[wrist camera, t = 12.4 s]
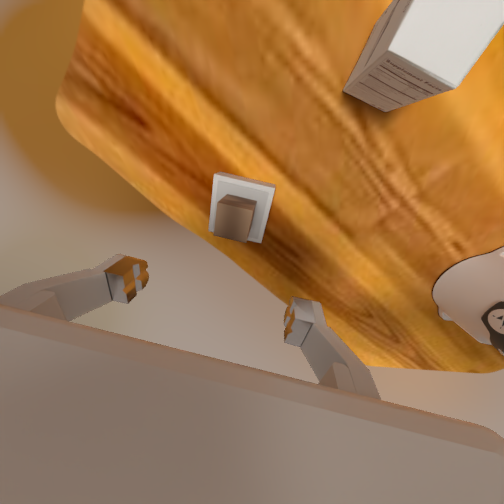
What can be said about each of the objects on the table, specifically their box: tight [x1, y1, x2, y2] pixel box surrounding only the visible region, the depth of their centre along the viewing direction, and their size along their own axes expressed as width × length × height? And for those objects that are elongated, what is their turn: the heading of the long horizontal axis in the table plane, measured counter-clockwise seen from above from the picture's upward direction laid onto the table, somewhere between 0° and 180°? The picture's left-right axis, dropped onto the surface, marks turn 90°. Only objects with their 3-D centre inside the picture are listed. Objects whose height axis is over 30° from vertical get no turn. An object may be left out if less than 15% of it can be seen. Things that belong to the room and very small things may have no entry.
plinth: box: [209, 172, 275, 243], centre depth 34 cm, size 10×10×4 cm
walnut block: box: [214, 194, 257, 243], centre depth 29 cm, size 5×5×6 cm
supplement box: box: [343, 0, 504, 112], centre depth 20 cm, size 7×7×13 cm
